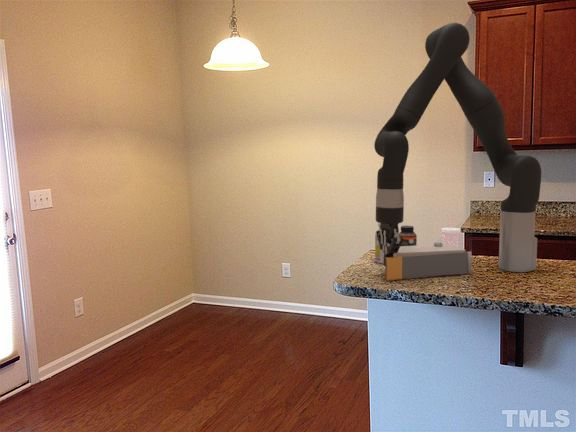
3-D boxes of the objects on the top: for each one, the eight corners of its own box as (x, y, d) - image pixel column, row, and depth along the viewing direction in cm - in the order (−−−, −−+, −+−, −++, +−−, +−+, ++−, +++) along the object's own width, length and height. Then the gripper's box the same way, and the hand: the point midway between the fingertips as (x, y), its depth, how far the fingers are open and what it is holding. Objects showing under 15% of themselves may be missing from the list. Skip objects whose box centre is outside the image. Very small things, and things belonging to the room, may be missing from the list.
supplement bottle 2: (416, 263, 158) (417, 227, 157) (397, 262, 160) (397, 227, 158) (415, 259, 164) (416, 224, 163) (397, 258, 165) (397, 224, 164)
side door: (469, 272, 144) (470, 251, 143) (472, 273, 143) (472, 251, 142) (385, 279, 138) (385, 257, 137) (387, 280, 137) (387, 258, 136)
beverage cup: (442, 252, 173) (443, 212, 171) (460, 254, 170) (461, 213, 168) (439, 256, 167) (440, 214, 166) (458, 257, 165) (459, 215, 163)
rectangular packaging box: (450, 266, 153) (451, 241, 152) (464, 273, 144) (465, 247, 143) (383, 270, 150) (383, 244, 149) (393, 277, 141) (393, 250, 140)
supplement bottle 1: (399, 261, 162) (399, 221, 160) (391, 265, 157) (392, 224, 155) (379, 259, 166) (380, 220, 164) (371, 263, 160) (371, 223, 158)
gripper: (413, 207, 133) (411, 271, 135) (392, 202, 145) (390, 260, 148) (387, 208, 131) (385, 273, 133) (367, 202, 144) (366, 262, 146)
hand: (388, 266), depth 141 cm, fingers closed
